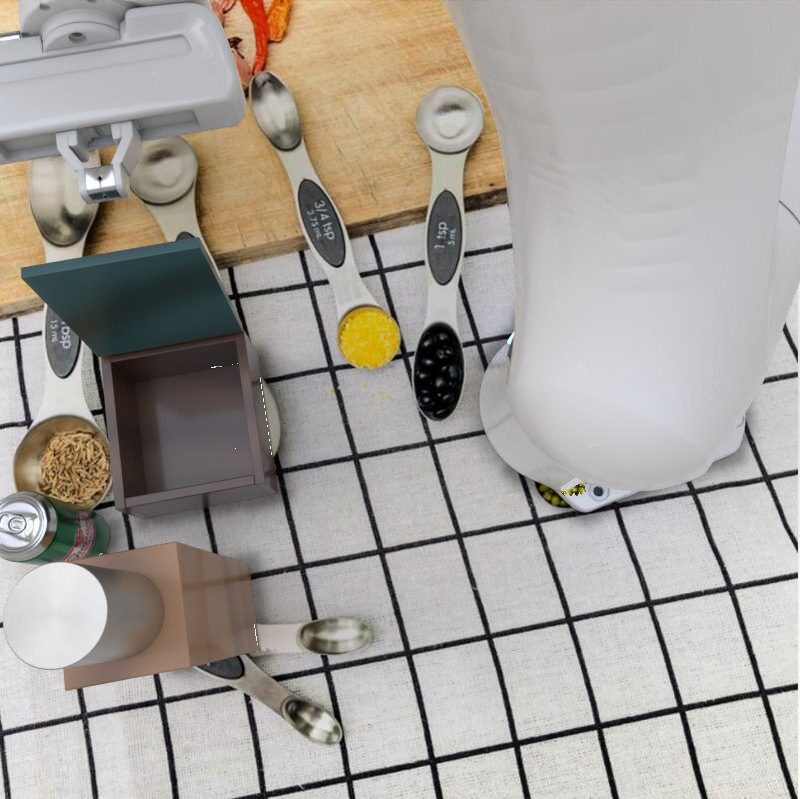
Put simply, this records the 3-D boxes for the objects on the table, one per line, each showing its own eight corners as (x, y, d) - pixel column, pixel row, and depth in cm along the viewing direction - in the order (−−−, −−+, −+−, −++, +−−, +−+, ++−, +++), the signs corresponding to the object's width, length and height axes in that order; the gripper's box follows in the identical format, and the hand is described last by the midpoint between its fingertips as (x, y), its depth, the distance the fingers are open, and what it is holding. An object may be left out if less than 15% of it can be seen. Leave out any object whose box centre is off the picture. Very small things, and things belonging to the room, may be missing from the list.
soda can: (102, 575, 69) (39, 568, 57) (43, 563, 69) (-31, 553, 57) (119, 515, 70) (61, 496, 58) (62, 503, 70) (-8, 482, 59)
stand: (248, 563, 69) (176, 541, 48) (260, 650, 67) (190, 667, 46) (165, 579, 69) (54, 563, 47) (174, 666, 67) (64, 691, 46)
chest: (279, 494, 70) (265, 482, 64) (142, 519, 70) (115, 510, 63) (258, 354, 73) (243, 329, 67) (128, 378, 73) (100, 354, 66)
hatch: (200, 247, 54) (199, 236, 54) (20, 278, 53) (20, 267, 53) (243, 331, 66) (242, 322, 66) (98, 357, 66) (97, 348, 66)
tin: (159, 563, 47) (102, 552, 39) (168, 650, 46) (112, 659, 37) (75, 579, 47) (-1, 571, 38) (82, 666, 46) (5, 679, 37)
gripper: (-87, 13, 55) (-79, 200, 52) (219, -35, 56) (247, 146, 52) (-38, 73, 61) (-28, 244, 58) (237, 29, 62) (263, 195, 59)
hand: (105, 197), depth 55 cm, fingers closed
